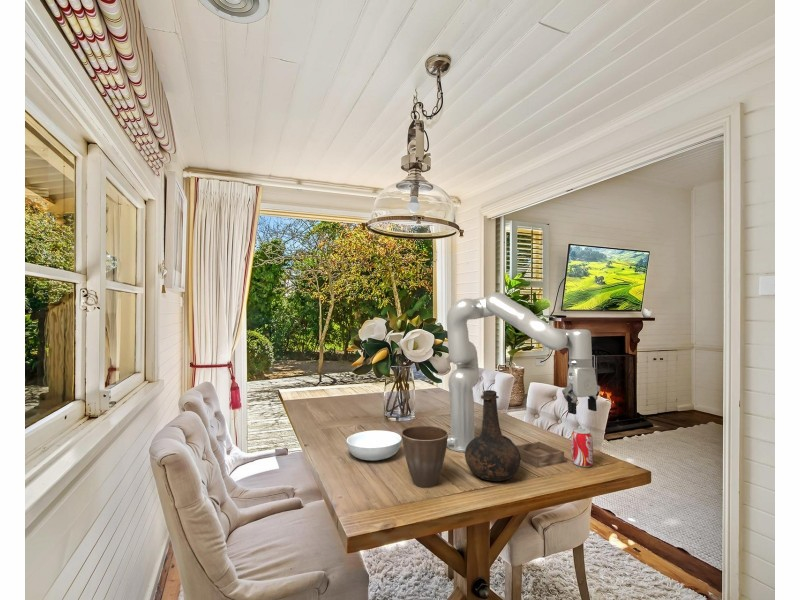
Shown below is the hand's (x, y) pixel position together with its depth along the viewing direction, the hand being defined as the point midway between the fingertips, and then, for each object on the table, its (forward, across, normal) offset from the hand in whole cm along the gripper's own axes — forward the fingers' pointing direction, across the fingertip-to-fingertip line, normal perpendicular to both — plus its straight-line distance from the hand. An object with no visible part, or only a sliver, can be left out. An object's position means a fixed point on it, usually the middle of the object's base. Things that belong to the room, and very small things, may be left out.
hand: (582, 411), depth 140 cm
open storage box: (+18, -10, +12) cm, 24 cm away
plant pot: (+18, -58, +10) cm, 62 cm away
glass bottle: (+18, -36, +6) cm, 40 cm away
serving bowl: (+18, -66, +38) cm, 78 cm away
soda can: (+19, 0, 0) cm, 19 cm away
